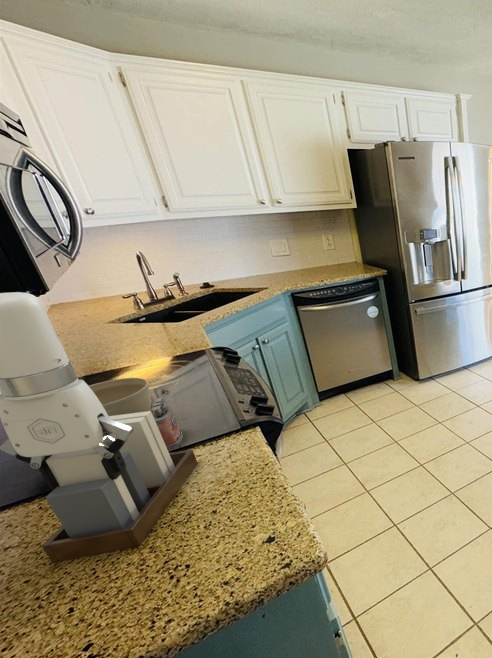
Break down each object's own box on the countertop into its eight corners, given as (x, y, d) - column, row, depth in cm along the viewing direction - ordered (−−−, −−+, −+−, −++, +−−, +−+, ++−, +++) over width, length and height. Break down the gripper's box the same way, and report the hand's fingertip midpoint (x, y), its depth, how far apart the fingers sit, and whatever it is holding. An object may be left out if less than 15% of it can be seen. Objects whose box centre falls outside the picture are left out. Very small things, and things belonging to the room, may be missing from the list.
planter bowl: (82, 429, 100) (62, 389, 96) (165, 409, 109) (149, 372, 105) (68, 460, 88) (44, 417, 84) (162, 435, 97) (144, 394, 93)
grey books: (77, 551, 66) (41, 492, 61) (109, 513, 73) (80, 459, 68) (129, 541, 67) (98, 483, 62) (155, 505, 75) (129, 451, 70)
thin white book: (86, 534, 68) (45, 460, 62) (93, 526, 70) (53, 453, 64) (136, 525, 70) (100, 453, 64) (141, 518, 72) (107, 446, 66)
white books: (126, 494, 78) (92, 427, 72) (137, 481, 81) (106, 416, 75) (168, 487, 80) (139, 421, 74) (178, 474, 83) (151, 410, 77)
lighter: (179, 446, 93) (163, 408, 89) (161, 451, 91) (144, 412, 87) (184, 430, 99) (170, 393, 95) (167, 434, 97) (151, 397, 93)
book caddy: (52, 563, 64) (41, 546, 62) (133, 473, 84) (126, 459, 82) (140, 545, 66) (131, 529, 65) (197, 463, 87) (192, 449, 85)
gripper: (-66, 399, 53) (2, 505, 60) (95, 383, 58) (141, 483, 65) (-16, 376, 60) (40, 474, 67) (125, 363, 64) (164, 456, 71)
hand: (89, 478), depth 66 cm, fingers closed on thin white book, 7 cm apart
